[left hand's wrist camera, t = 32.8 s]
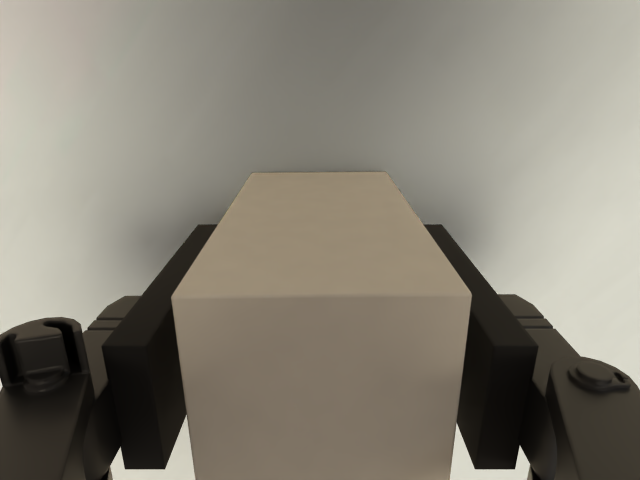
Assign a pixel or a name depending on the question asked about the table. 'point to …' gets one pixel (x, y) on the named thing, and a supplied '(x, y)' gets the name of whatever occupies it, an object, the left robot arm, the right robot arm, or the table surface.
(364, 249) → the brick
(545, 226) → the table surface
